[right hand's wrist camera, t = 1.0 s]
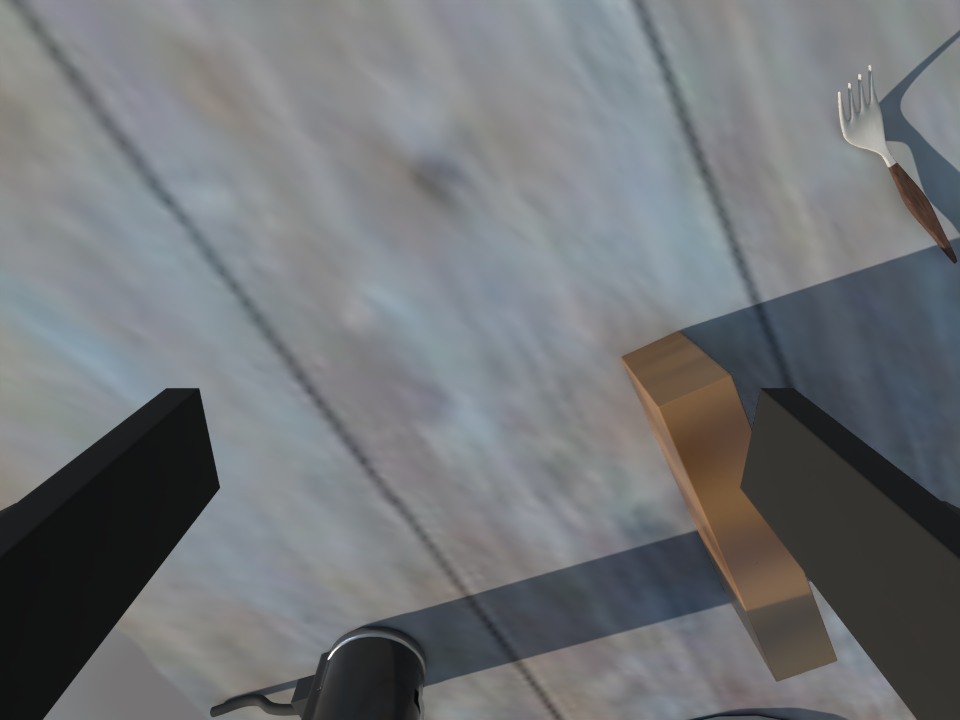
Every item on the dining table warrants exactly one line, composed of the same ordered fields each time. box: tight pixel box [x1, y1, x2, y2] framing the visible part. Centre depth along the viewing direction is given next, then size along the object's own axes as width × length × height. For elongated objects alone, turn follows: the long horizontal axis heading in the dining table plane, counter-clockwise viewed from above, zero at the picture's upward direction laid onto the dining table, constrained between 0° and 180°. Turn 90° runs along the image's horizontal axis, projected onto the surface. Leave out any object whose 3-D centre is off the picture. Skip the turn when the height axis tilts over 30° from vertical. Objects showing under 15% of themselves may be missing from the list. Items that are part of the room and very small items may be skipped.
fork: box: [838, 65, 957, 263], centre depth 36 cm, size 3×16×2 cm, turn 44°
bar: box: [621, 331, 837, 681], centre depth 41 cm, size 26×5×9 cm, turn 27°
